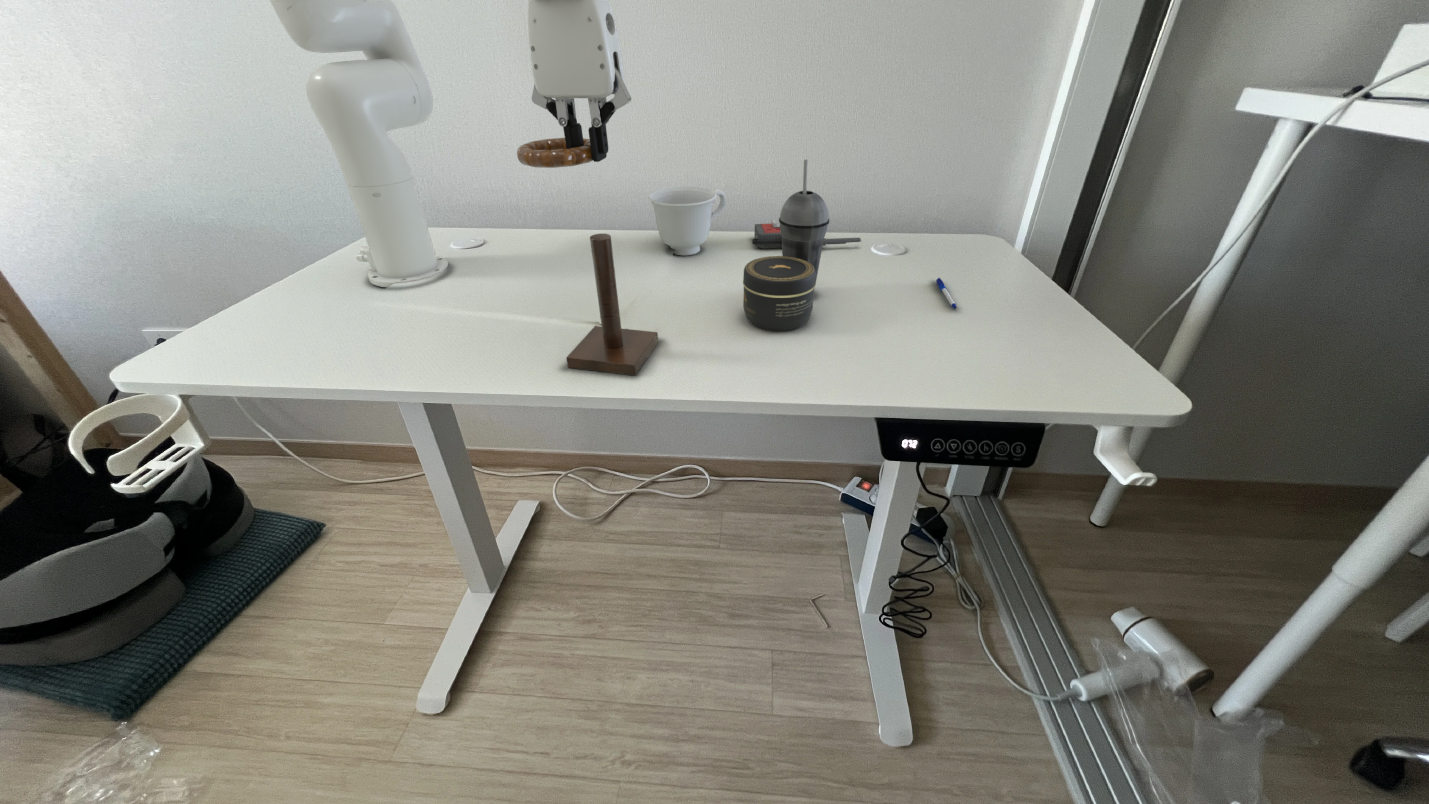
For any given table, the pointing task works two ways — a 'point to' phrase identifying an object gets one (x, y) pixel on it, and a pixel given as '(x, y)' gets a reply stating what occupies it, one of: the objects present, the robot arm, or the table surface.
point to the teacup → (685, 216)
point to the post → (610, 324)
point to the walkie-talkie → (773, 239)
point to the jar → (778, 292)
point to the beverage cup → (804, 225)
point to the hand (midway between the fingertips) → (588, 158)
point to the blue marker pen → (945, 292)
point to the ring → (553, 153)
